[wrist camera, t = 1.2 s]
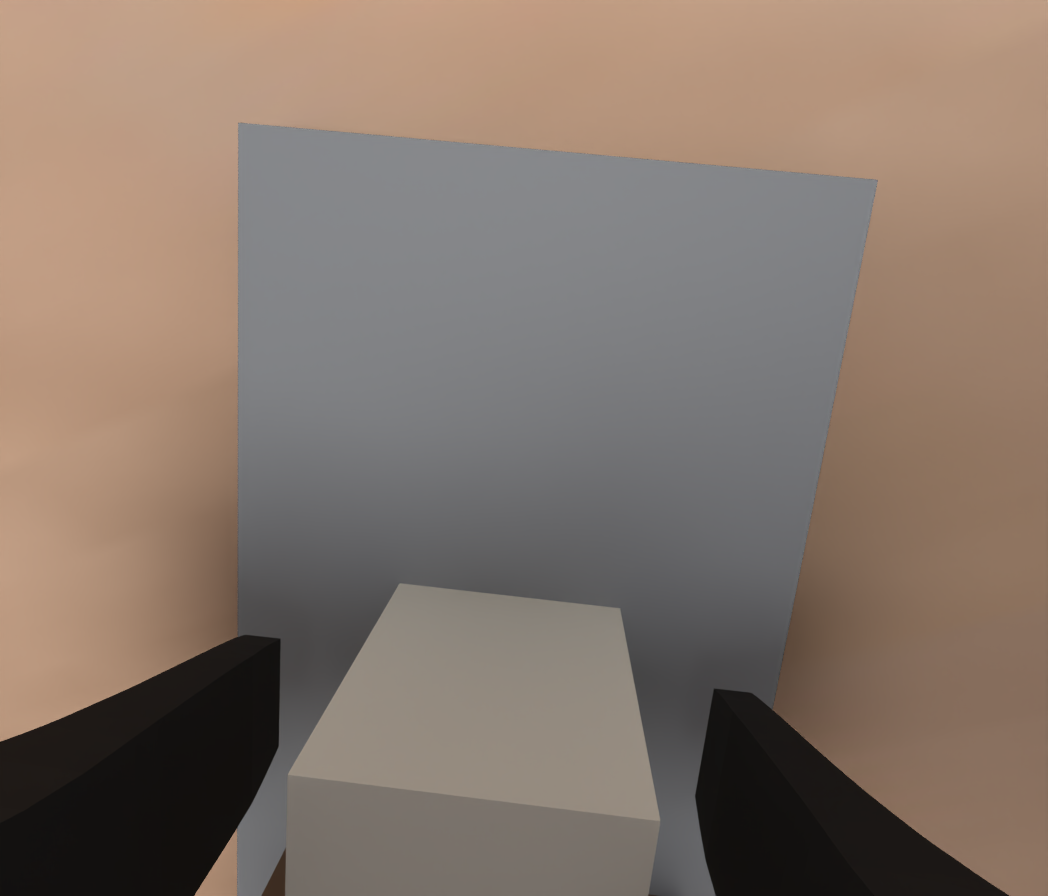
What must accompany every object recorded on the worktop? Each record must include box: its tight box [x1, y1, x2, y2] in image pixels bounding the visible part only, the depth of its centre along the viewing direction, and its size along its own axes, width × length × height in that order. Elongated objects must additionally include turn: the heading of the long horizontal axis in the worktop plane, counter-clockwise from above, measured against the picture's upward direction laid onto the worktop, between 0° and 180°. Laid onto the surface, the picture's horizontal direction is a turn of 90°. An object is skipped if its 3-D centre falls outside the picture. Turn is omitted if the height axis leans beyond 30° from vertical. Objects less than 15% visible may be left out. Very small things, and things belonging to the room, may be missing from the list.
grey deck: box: [237, 123, 878, 896], centre depth 14 cm, size 10×27×2 cm, turn 175°
